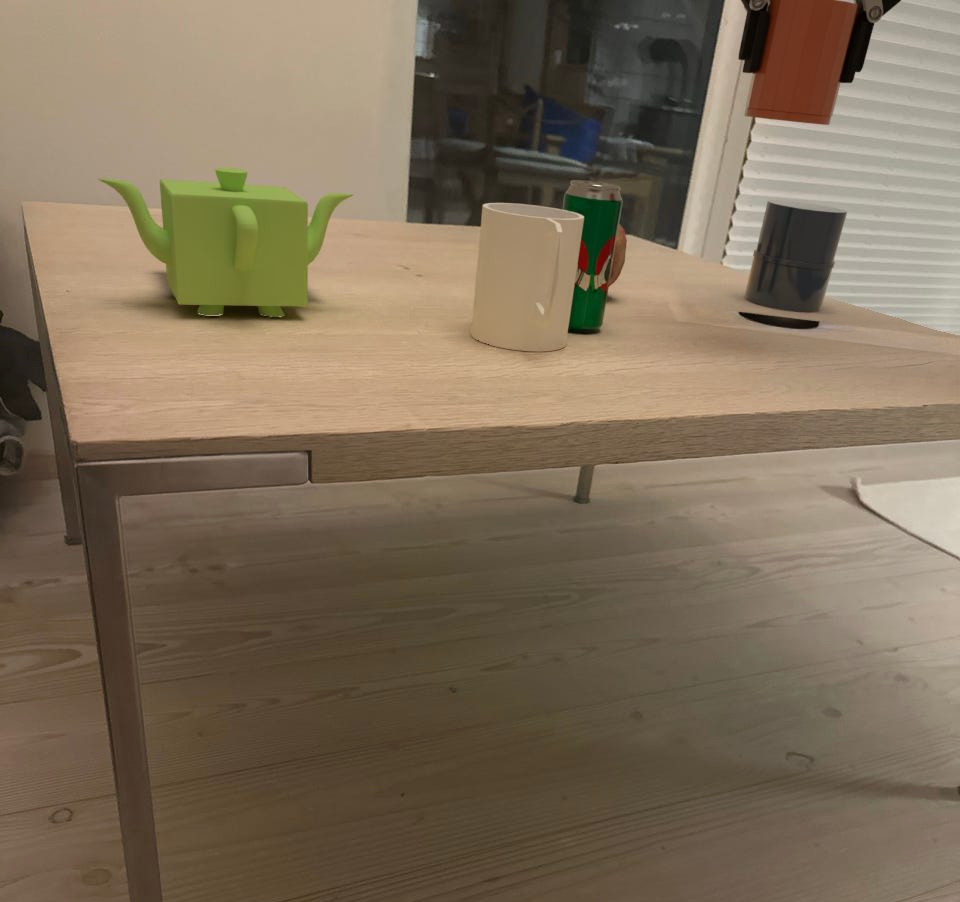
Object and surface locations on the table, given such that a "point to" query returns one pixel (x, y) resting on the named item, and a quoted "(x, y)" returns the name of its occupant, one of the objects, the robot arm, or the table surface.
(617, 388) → the table surface
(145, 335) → the table surface
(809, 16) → the terracotta cup
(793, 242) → the cup stack
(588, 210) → the soda can
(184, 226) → the teapot
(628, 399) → the table surface
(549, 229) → the cup
